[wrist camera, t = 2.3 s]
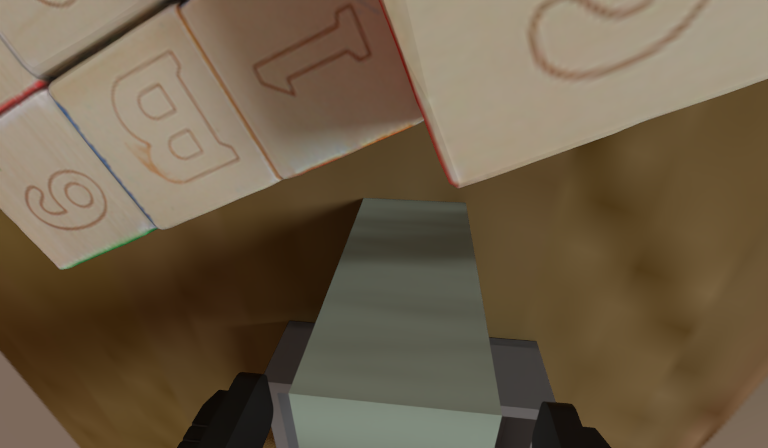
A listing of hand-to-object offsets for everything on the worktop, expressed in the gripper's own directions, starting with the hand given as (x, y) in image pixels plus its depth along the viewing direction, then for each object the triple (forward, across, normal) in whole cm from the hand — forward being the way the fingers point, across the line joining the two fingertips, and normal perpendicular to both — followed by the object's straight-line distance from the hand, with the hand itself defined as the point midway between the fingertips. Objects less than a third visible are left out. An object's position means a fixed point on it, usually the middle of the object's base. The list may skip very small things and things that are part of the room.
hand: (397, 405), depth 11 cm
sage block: (+8, 0, 0) cm, 8 cm away
